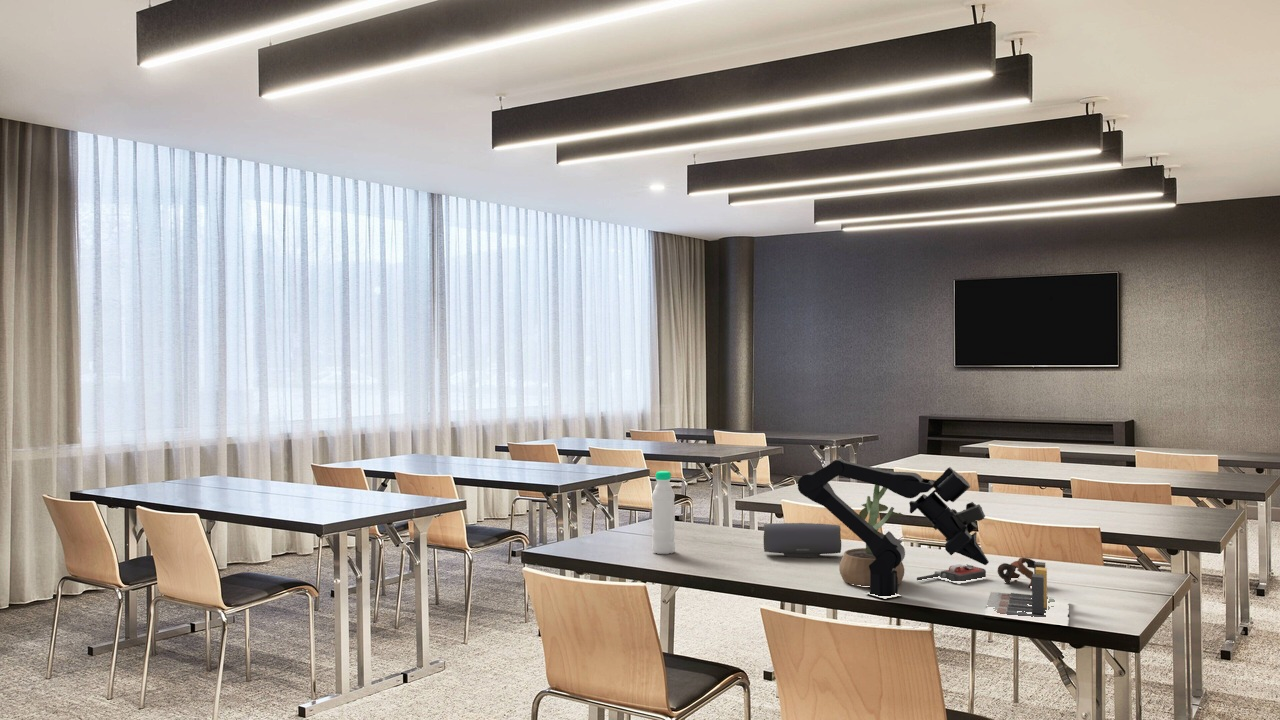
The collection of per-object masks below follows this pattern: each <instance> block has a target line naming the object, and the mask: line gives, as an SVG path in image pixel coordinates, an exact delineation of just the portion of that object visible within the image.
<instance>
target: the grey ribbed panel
mask: <svg viewBox="0 0 1280 720" xmlns="http://www.w3.org/2000/svg"><path fill="white" fill-rule="evenodd" d="M1036 567H1041V568H1046V562H1043V561H1035V563H1034V568H1033V570H1034V571H1033V575H1032V589H1031V594H1027V593H1015V592H1011V593H1005V592H996V591H990V592H989V596H988V599H987V602H986V605H988V606H985V608H986V607H995V608H993V609H995V610H994V611H996V610H997V611H996V612H997V613H1000V614H1007V615H1018V616H1031V617H1033V616H1034V617H1046V615H1044V613H1046V611H1045V610H1047V608H1044V575H1039V574H1035V569H1036ZM1048 597H1049V596H1048V595H1047V599H1048ZM1031 598H1032V599H1031ZM1050 602H1055V600H1054V599H1049V601H1048V603H1050ZM1027 604H1029V605H1032V606H1028V605H1027ZM1051 607H1054V606H1051ZM1049 609H1050V607H1049V606H1048V610H1049ZM1017 611H1022V612H1018V613H1017ZM1024 611H1025V612H1024ZM1026 612H1032V614H1027V613H1026Z"/></svg>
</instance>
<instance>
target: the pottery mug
mask: <svg viewBox="0 0 1280 720" xmlns="http://www.w3.org/2000/svg"><path fill="white" fill-rule="evenodd" d="M1035 562H1036V560H1033V559H1031V558H1028V557H1024V556H1023V557H1020V558H1018V560H1015V561H1013V562H1011V563H1006V562H1005V563H1004V562H1003V563H1000V564H999V565H998V567H997V571H996V572H997V575H998V576H999V577H1000V578H1001V579H1003V580H1004V581H1005V582H1006V584H1011V581H1012V580H1011V578H1018V579H1019V578H1020V577H1021V575H1024V576H1025V577H1026V578H1027V579H1029V580H1030V583H1029V584H1028V587H1029V586H1032V575H1033V574H1034V571H1032V570H1031V569H1034V563H1035ZM1025 563H1026V564H1027V566H1025V565H1024V564H1025ZM1029 568H1031V569H1029ZM1005 571H1006V572H1005ZM1016 571H1017V572H1019V573H1017V572H1016ZM1004 581H1003V582H1004Z"/></svg>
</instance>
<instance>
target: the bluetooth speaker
mask: <svg viewBox="0 0 1280 720" xmlns="http://www.w3.org/2000/svg"><path fill="white" fill-rule="evenodd" d="M763 552H765V553H770V554H771V553H773V554H783V556H785V557H786V556H790V557H789V558H820V556H821V555H831V554H840V553H841V552H842V538H841V525H839V524H838V525H837V524H831V523H830V524H829V523H828V524H827V523H813V522H810V523H807V522H790V523H789V522H784V523H783V522H782V523H781V522H779V523H777V522H776V523H766V524H763Z"/></svg>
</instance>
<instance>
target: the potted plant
mask: <svg viewBox="0 0 1280 720" xmlns="http://www.w3.org/2000/svg"><path fill="white" fill-rule="evenodd" d="M876 469H880V470H881V467H878V466H877V467H876ZM880 487H881V486H879V485H875V484H874V489H873V496H872V500H871V496H870V495H867V496H866V503H863V504H861V506H862V507H863V508H861V510H860V511H859V513H858V514H859V515H860V516H861V517H862V518H863V519H864V520H865V521H866V520H867V518H868V521H867V522H868V523H869V524H870V525H871V526H872V527H873V528H874V529H876V530H877V531H878V530H879V529H880V528H882V527H883V526H884V525H885V523H887V521H888V520H889V518H890V517H907V515H906V514H903V513H901V512H895V511H894V510H895V507H893V506H891V507H890V508H889V507H888V506H887V505H885V504H883V503H880V500H881V498H882V497H883V496H884V495H885V494H886V491H887V490H888V489H887V488H885V487H881V489H880ZM888 509H889V510H888ZM886 511H887V513H886V514H885V515H884V516H883V518H882V519H881V520H880V521H879V522H878V519H879V518H880V513H881V512H886ZM878 532H879V531H878ZM875 559H876V558H875V557H874V555H873V554H872V552H871V551H870V549H869V547H868V546H867V544H866V543H865V547H863V548H861V547H860V548H852V549H851V548H850V549H848V550H845V551H844V552H843V555H842V558H841V560H840V563H839V567H838V569H839V570H838V571H839V575H840V577H841V578H842V581H845V583H847V584H848V583H850V584H854V585H861V586H870V569H869V565H870V564H871V563H872V562H873V561H874V560H875ZM894 570H895V571H897V577H898V585H899V583H900V584H901V583H902V582H903V578H904V576H905V566H904V563H903V561H902V562H901V563H900V564H899V565H898V566H897V567H896V569H894ZM850 584H849V585H850Z"/></svg>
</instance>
